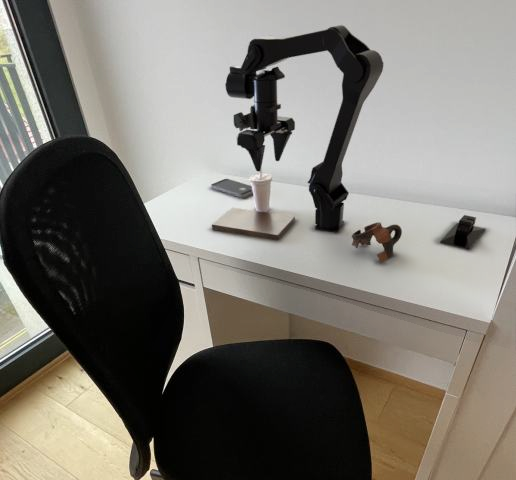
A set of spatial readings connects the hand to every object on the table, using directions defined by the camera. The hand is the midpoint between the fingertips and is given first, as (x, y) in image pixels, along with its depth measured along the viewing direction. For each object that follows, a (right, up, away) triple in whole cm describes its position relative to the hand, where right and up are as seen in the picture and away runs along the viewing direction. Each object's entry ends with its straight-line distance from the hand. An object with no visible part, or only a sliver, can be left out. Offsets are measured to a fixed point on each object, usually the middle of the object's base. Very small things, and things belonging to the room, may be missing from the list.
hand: (268, 165), depth 110 cm
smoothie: (-1, -9, +10) cm, 14 cm away
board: (-4, -15, +3) cm, 16 cm away
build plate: (+49, -22, -9) cm, 54 cm away
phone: (-11, +2, +24) cm, 26 cm away
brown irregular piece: (+26, -27, -12) cm, 39 cm away
